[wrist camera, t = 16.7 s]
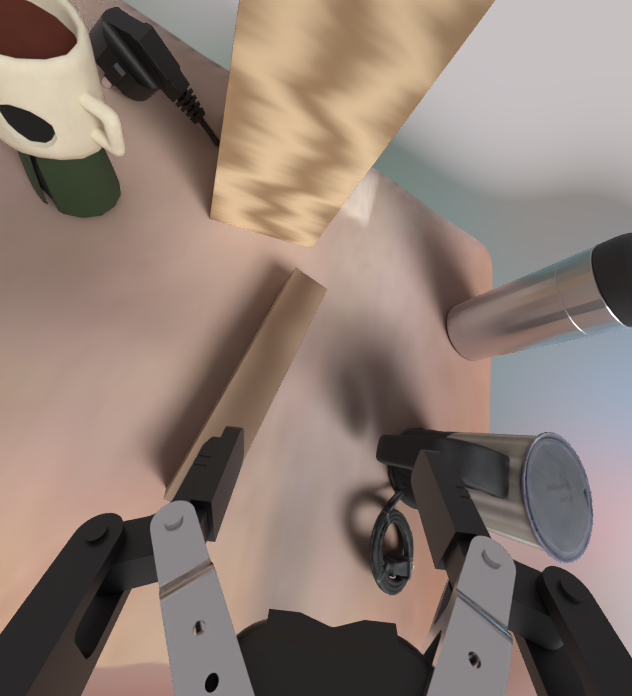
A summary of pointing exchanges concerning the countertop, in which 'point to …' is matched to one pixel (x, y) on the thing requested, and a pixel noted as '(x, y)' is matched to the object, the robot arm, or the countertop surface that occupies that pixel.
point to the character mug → (57, 106)
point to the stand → (323, 102)
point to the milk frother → (491, 493)
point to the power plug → (141, 63)
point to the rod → (259, 369)
